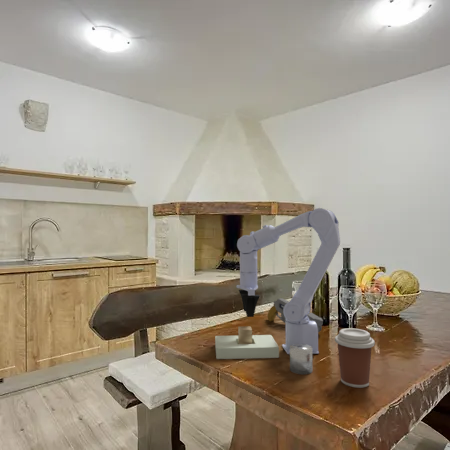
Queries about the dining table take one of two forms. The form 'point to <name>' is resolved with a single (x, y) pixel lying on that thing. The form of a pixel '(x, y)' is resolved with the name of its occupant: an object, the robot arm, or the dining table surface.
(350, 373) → the coffee cup
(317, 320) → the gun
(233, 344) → the socket plate
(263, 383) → the dining table surface
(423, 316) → the dining table surface
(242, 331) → the square peg
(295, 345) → the round peg
